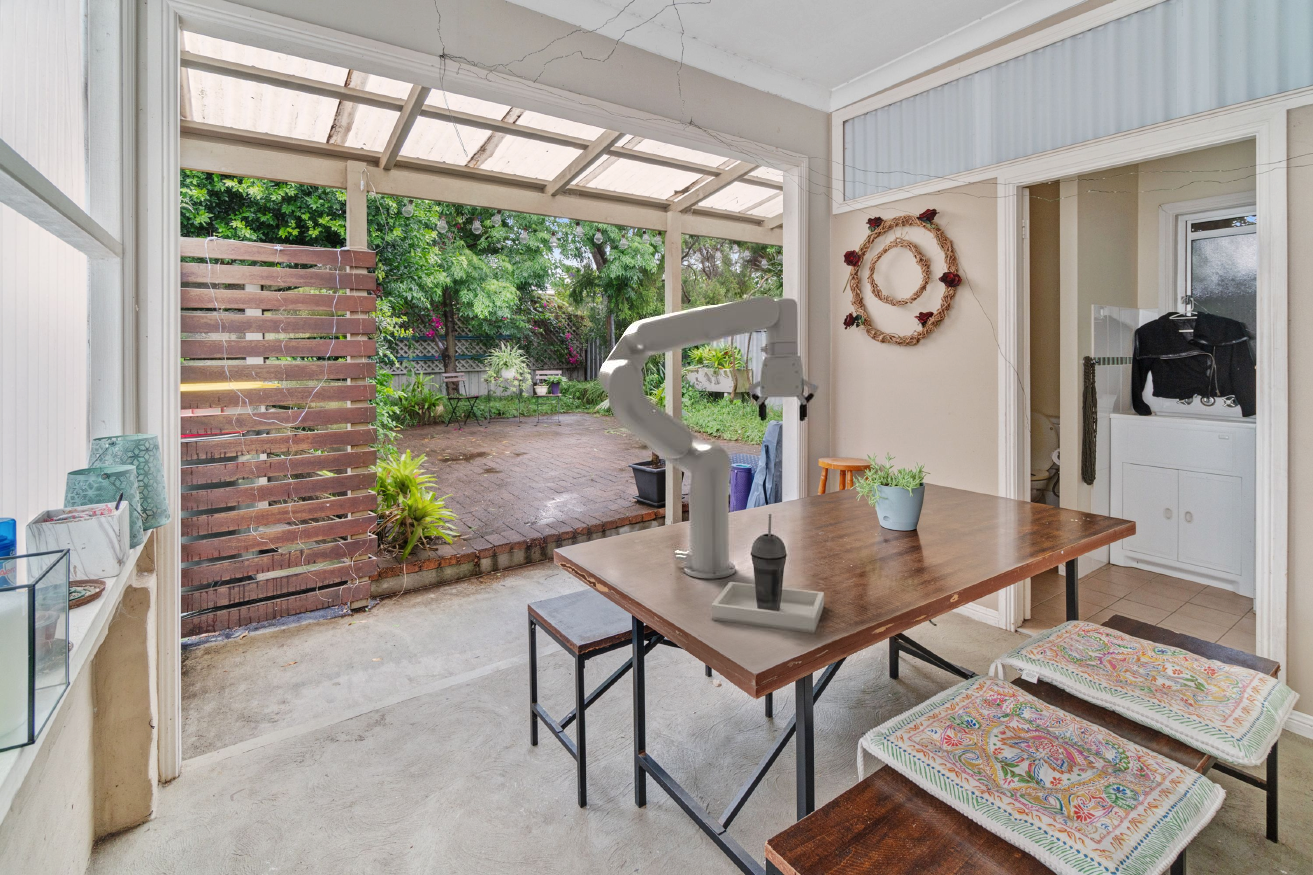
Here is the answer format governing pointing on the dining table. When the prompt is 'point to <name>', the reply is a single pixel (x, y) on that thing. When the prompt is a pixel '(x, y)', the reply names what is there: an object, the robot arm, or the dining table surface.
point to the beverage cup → (768, 569)
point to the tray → (794, 614)
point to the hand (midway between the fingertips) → (782, 420)
